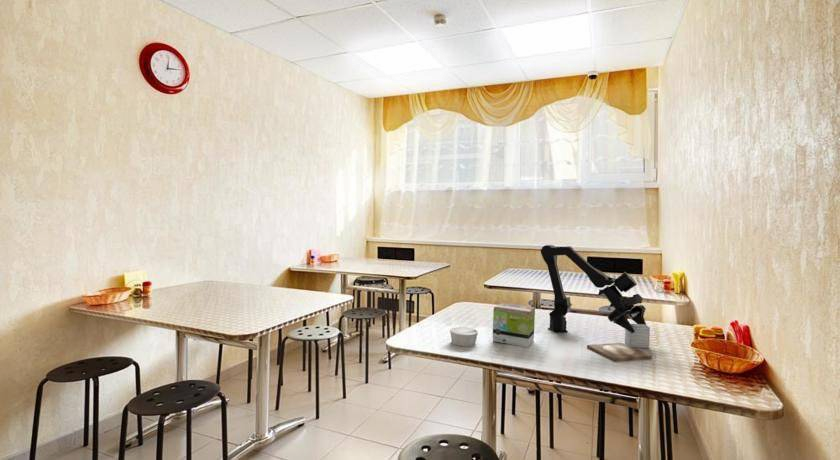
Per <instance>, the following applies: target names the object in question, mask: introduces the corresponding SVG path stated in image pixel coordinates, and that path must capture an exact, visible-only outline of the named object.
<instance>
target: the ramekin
mask: <svg viewBox="0 0 840 460" xmlns="http://www.w3.org/2000/svg"><path fill="white" fill-rule="evenodd" d="M449 334H450V338H451V339H450V341H451V342H452V344H453V345H455V346H457V347H464V348H465V347H473V346H474V345H476V341H477V338H478V334H479V332H478V330H477V329H475V328H471V327H467V326H456V327H452V328H450V330H449Z"/></svg>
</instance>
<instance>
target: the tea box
mask: <svg viewBox="0 0 840 460" xmlns="http://www.w3.org/2000/svg"><path fill="white" fill-rule="evenodd" d="M535 315H536V307H535V306H527V305H520V304H513V303H504V302H500V303H498V304H497V305H495V306H494V307H493V316H492V317H493V318H492V342H494V343H495V342H497V343H502V344H508V345H513V346H517V347H523V348H527V349H528V348H529V347H530V346H531V344H532V343H533V342H534V341H535V340H534V339H535V338H534V337H535V322H536V321H535V319H536V317H535Z"/></svg>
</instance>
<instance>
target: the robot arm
mask: <svg viewBox="0 0 840 460" xmlns="http://www.w3.org/2000/svg"><path fill="white" fill-rule="evenodd" d="M540 254H541V256H542V257H541V258H542V259H543V261H544V262H545V264H546V265H547V269H548V274H549V277H550V282H551V286H552V290H553V294H554V299H553V300H554V301H553V310H552V311H550V312H549V327H547V329H548V330H550V331H551V332H554V333H567V332H568V330H567V318H566V314H568V313H569V312H570V311H571V309H572V308H571V307H572V305H573V304H572V302H571V297H570V296H566V293H565V291H564V288H563V284H562V279H561V275H560V271H559V267H558V256H566V257H567V258H568V259H569V260H570V261H572V262H573V263H574V264H575V265H576V266H577V267H578V268H579V269H581V271H583V272H584V273H585V275H586V276H587V277H588V279H589V281H590V282H591V283H592V284H593V286H594V287H596V288H599V289H598V293H597V295H598V296H599V297H603V296H605V298H606V299H607V301H609V303H610V304H609V306H610V308H613V310H611V312H610V313H609V314H607V319H608V321H609V322H610V323H612V322H613V323H614V324H616V325H618V326H619V327H621V328H623V329H624V330H625V329H627V330H628V331H630V332H632V333H634V332H635V331H634V329H633V327H632V326H631V324H632V323H630V321H629V320H628V319H629V318H628V316H629V317H630V318H631V321H633V322H634V323H635V324H645V325H647V323H646V320H645V318H644V315H645V313H646V309H647V308H646V307H645V306H644V305H643V299H644V297H642V295H640V294H639V293H635V294H633V295H632V296H629V297H628V296H623V295H622V293H623V292H624V293H627V292H628V291H630V290H631V289H633V288H634V287H636V286H637V285H638V283H637V282H636V281H635V279H634V278H633V277H632V276H630V275H629V274H628V273H627V272H626V271H624V272H623V273H622V274H620V275H619V276H617V278H614V277H609V276H608V275H607V274H606V273H604V272H603V271H601V270H600V269H598V268H595V267H594V266H592V265H591V263H589V262H588V261H587V260H586V259H585V258H584V257H583V256H581V255H580V254H579V253H578V252H577V251H576V250H575V249H574V248H573V247H572V246H571V245H570V246H569V245H567V246H555V245H553V244H547V245H544V246H542V247H541V249H540ZM600 288H603V289H600Z"/></svg>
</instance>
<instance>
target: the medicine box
mask: <svg viewBox="0 0 840 460" xmlns="http://www.w3.org/2000/svg"><path fill="white" fill-rule="evenodd" d="M630 324H631V326H632V327H633V329H634V331H635V332H634V333H632V332H630V331H628V330H627V329H625V328H624V331H625V332H624V344H626V345H628V346H631V347H633V348H635V349H637V348H640V349H641V348H642V349H643V348H644V349H649V348H650V335H651V327H650V326H648V325H647V324H646V325H645V324H637V323H630Z"/></svg>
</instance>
